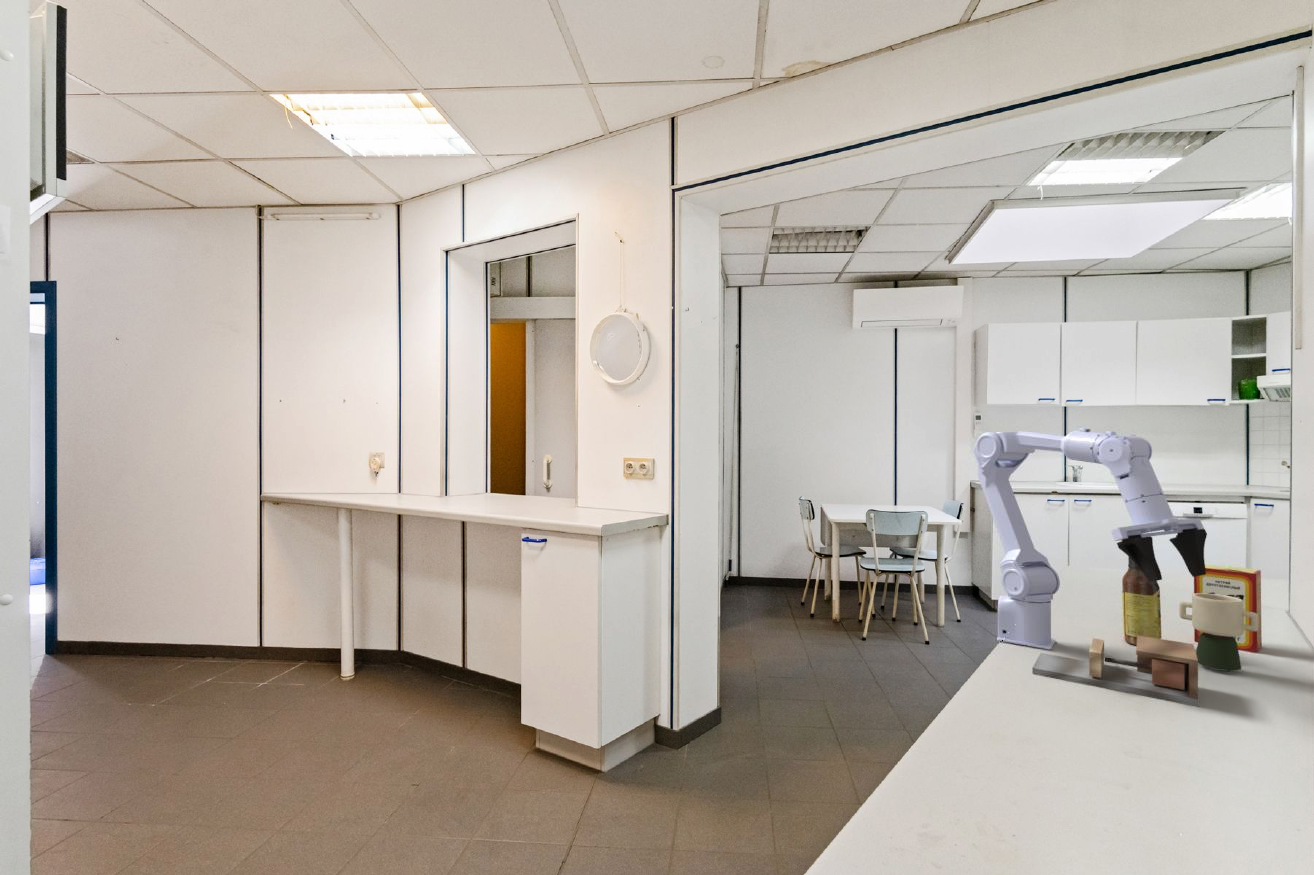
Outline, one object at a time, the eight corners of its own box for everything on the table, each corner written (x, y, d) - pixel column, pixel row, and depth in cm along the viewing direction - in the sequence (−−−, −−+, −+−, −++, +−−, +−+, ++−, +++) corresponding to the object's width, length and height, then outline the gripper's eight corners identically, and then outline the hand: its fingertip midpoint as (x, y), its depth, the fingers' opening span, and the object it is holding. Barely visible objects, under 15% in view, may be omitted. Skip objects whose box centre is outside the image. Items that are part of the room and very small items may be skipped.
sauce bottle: (1168, 650, 124) (1167, 550, 124) (1133, 647, 125) (1132, 548, 126) (1149, 640, 130) (1148, 545, 131) (1116, 638, 131) (1115, 544, 132)
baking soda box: (1194, 641, 130) (1193, 565, 130) (1200, 636, 134) (1200, 562, 134) (1257, 653, 123) (1256, 572, 123) (1261, 647, 127) (1260, 568, 127)
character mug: (1263, 674, 111) (1262, 600, 111) (1254, 682, 106) (1253, 605, 107) (1185, 657, 119) (1185, 589, 120) (1174, 664, 115) (1173, 593, 116)
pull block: (1089, 676, 104) (1089, 651, 104) (1093, 661, 112) (1093, 638, 112) (1185, 694, 97) (1185, 667, 97) (1182, 677, 105) (1182, 652, 105)
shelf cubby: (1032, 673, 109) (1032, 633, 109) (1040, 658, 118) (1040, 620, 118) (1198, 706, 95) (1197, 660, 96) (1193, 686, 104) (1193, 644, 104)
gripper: (1120, 497, 104) (1154, 579, 99) (1203, 488, 105) (1240, 569, 99) (1092, 508, 110) (1122, 586, 105) (1170, 500, 111) (1203, 576, 106)
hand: (1177, 578), depth 103 cm, fingers open, 7 cm apart
